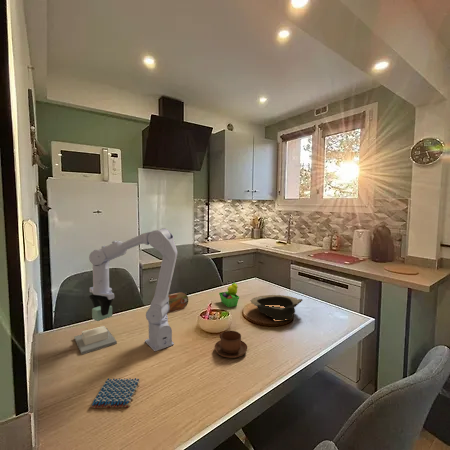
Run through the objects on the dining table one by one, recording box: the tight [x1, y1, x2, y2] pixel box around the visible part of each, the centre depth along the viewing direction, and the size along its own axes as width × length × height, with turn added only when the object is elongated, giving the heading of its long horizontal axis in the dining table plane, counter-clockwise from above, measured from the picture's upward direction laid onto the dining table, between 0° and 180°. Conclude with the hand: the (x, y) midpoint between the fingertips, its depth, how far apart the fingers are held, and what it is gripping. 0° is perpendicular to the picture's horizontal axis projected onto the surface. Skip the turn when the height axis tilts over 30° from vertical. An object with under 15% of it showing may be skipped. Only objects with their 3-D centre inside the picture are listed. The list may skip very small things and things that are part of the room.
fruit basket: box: [218, 282, 240, 308], centre depth 141 cm, size 11×9×11 cm
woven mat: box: [90, 377, 140, 409], centre depth 73 cm, size 10×11×2 cm
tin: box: [167, 291, 189, 314], centre depth 133 cm, size 15×3×8 cm, turn 125°
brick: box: [91, 305, 113, 322], centre depth 102 cm, size 4×6×4 cm, turn 144°
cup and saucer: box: [214, 330, 248, 359], centre depth 95 cm, size 12×12×6 cm
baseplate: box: [73, 325, 117, 356], centre depth 101 cm, size 14×12×4 cm
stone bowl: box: [250, 294, 303, 320], centre depth 129 cm, size 25×25×9 cm
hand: (101, 313), depth 102 cm, fingers closed on brick, 4 cm apart
